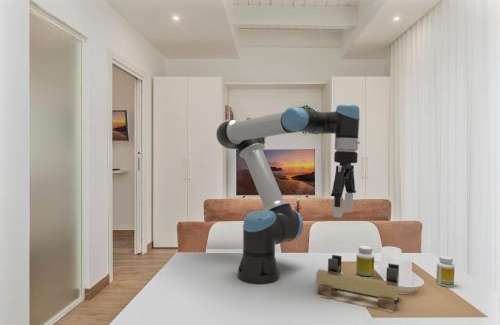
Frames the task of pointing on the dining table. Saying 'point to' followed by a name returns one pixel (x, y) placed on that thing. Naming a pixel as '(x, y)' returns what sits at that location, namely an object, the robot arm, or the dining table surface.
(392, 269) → the rack
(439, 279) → the supplement bottle
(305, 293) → the dining table surface
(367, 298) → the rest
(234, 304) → the dining table surface
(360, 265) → the pill bottle
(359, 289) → the rail
